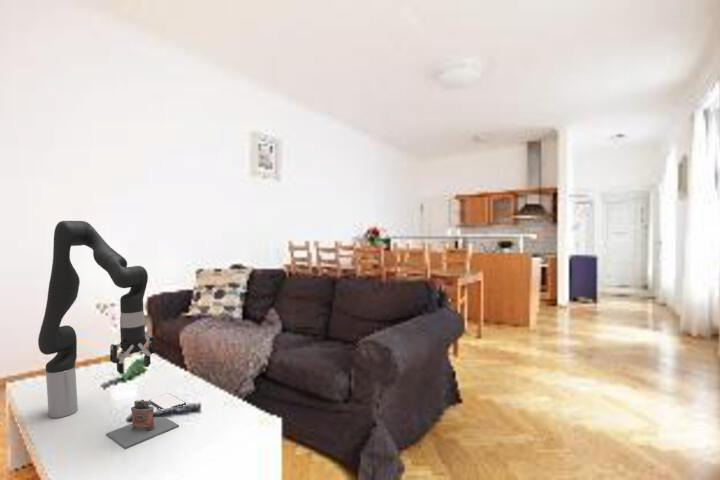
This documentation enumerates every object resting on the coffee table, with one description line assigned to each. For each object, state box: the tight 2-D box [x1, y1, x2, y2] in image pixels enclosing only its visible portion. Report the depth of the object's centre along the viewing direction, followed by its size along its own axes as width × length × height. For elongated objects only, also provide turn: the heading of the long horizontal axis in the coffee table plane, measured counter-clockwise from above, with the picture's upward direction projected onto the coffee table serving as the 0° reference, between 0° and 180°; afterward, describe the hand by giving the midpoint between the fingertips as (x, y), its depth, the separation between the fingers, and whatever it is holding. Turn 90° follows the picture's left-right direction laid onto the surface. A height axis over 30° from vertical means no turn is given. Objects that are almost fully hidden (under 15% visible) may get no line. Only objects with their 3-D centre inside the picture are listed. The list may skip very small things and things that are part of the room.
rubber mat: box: [105, 416, 180, 450], centre depth 147 cm, size 15×18×1 cm
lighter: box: [130, 399, 155, 431], centre depth 147 cm, size 8×3×10 cm, turn 79°
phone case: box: [148, 393, 187, 409], centre depth 169 cm, size 9×2×16 cm
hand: (134, 369), depth 147 cm, fingers open, 8 cm apart
